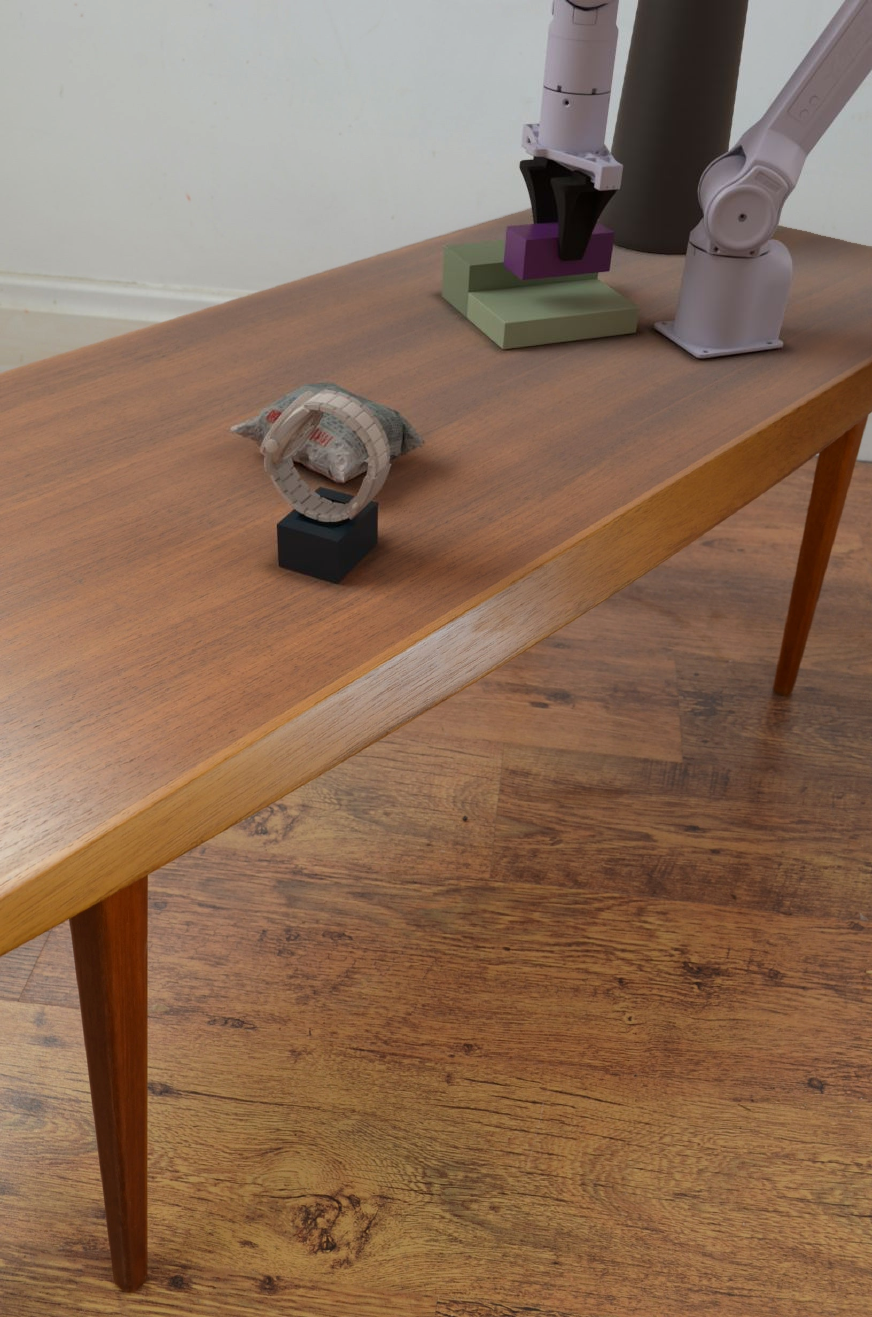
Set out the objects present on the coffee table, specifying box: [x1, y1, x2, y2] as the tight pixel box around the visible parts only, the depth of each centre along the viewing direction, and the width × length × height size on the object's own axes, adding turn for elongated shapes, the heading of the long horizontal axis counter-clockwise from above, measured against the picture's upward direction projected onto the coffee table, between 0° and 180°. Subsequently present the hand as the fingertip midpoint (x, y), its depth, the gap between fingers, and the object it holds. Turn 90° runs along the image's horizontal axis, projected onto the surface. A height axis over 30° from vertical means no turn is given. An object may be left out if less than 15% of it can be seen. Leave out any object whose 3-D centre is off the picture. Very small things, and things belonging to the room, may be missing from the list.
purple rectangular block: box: [503, 221, 615, 280], centre depth 104 cm, size 9×4×4 cm, turn 113°
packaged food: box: [229, 381, 425, 484], centre depth 84 cm, size 9×12×5 cm
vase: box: [598, 0, 749, 255], centre depth 124 cm, size 14×14×29 cm
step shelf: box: [441, 239, 641, 350], centre depth 110 cm, size 14×14×5 cm
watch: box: [259, 389, 392, 585], centre depth 72 cm, size 6×8×11 cm
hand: (558, 251), depth 105 cm, fingers closed on purple rectangular block, 4 cm apart
